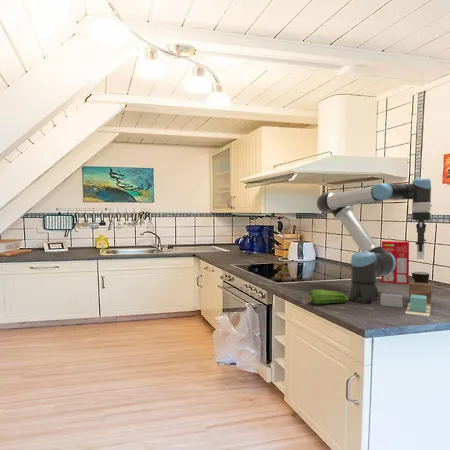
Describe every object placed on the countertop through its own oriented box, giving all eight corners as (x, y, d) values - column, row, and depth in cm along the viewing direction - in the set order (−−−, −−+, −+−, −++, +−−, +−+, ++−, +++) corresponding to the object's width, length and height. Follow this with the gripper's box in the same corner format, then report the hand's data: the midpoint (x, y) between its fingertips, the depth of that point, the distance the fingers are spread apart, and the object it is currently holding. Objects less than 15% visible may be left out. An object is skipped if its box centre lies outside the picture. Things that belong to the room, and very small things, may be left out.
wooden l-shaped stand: (429, 318, 148) (429, 294, 148) (405, 315, 153) (405, 292, 153) (431, 304, 169) (431, 283, 168) (409, 302, 174) (409, 282, 173)
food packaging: (408, 282, 219) (408, 241, 218) (408, 284, 214) (409, 242, 213) (381, 280, 225) (382, 241, 224) (381, 282, 221) (381, 241, 219)
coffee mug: (413, 288, 203) (413, 270, 203) (430, 290, 198) (430, 272, 197) (408, 292, 194) (408, 274, 194) (426, 294, 189) (426, 275, 188)
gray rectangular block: (397, 320, 147) (398, 305, 147) (374, 317, 152) (374, 303, 152) (402, 308, 164) (402, 295, 164) (381, 305, 169) (381, 293, 169)
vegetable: (307, 286, 174) (346, 285, 178) (305, 298, 178) (342, 296, 181) (313, 296, 168) (352, 294, 172) (310, 308, 172) (349, 306, 175)
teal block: (425, 312, 153) (426, 298, 153) (410, 310, 157) (410, 297, 156) (426, 309, 159) (426, 295, 158) (411, 307, 162) (411, 294, 161)
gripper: (430, 212, 156) (429, 260, 157) (430, 211, 177) (429, 254, 178) (411, 212, 159) (410, 259, 160) (413, 211, 181) (412, 253, 182)
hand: (420, 256), depth 169 cm, fingers open, 13 cm apart
